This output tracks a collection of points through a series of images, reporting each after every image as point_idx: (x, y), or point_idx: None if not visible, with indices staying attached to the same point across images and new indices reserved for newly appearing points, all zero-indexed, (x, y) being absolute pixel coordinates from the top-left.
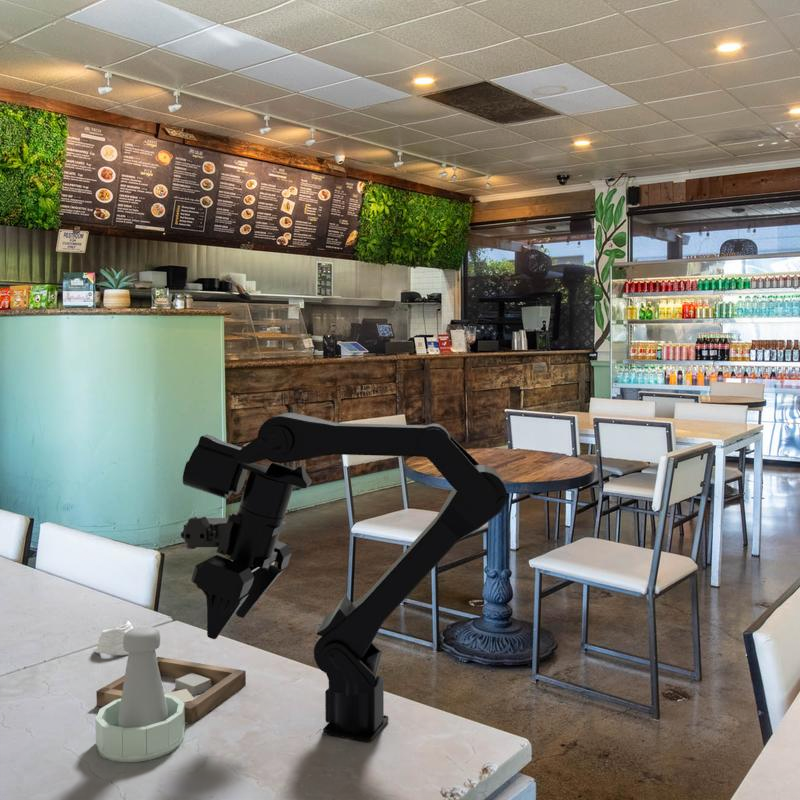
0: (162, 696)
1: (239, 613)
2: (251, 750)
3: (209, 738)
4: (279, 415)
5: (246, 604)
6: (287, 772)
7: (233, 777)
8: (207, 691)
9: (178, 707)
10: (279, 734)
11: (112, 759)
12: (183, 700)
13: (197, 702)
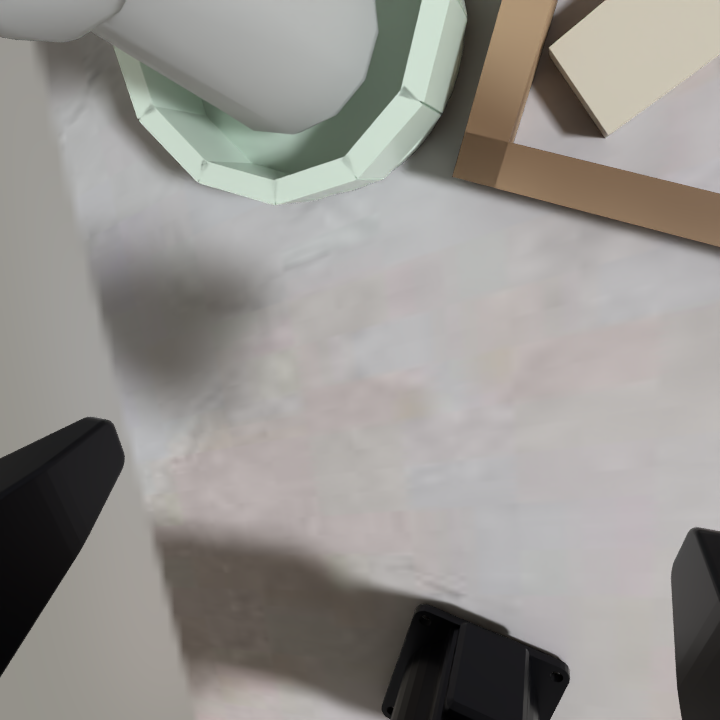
0: (242, 109)
1: (686, 567)
2: (311, 421)
3: (365, 278)
4: None
5: (703, 701)
6: (225, 520)
7: (181, 401)
8: (642, 184)
9: (316, 170)
10: (412, 486)
11: None
12: (599, 79)
13: (514, 181)
